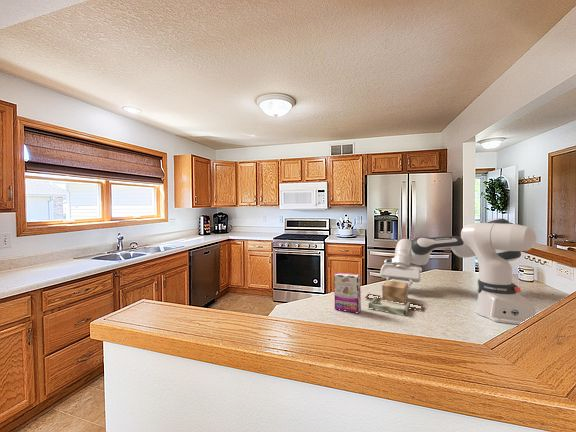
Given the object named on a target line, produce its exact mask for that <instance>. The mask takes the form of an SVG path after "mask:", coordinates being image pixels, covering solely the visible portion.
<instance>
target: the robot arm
mask: <svg viewBox="0 0 576 432" xmlns="http://www.w3.org/2000/svg"><path fill="white" fill-rule="evenodd" d="M536 243H537V235H536V232H535V231H534V230H533V229H532V228H531V227H530V226H527V225H522V224H518V223H513V222H510V221H509V220H508V219H505V218H494V219H490V220H489V221H487V222H471V223H467V224H466V225H464V226H463V228H462V229H461V231H460V236H458V235H451V236H450V235H449V236H448V235H447V236H445V235H444V236H435V237H428V236H418V237H415V238H414V239H413V240H410V239H409V238H401V239H399V240H398V242H397V243H396V245H395V249H394V256H393V257H392V258H387V259H384V260H383V262H384V263H383V265H382V266H381V268H380V271H379V275H380V277H381V279H386V281H387V280H388V281H390V280H393V281H394V280H395V281H405V282H407V289H410V288H411V287H410V286H412V284H413V283H419V282H421V274H422V272H423V268H422V267H421V266H426V265H427V264H428V263H429V261H430V258H431V253H432V251H434V250H438V249H448V248H449V249H451V251H452V252H453V254H454V255H455V256H457V257H459V258H463V259H464V258H472V257H476V260H477V263H478V276H479V277H478V280H477V285H476V286H477V293H478V294H477V299H476V304H475V306H474V309H473V311H474V312H475V313H476V314H477V315H480V316H482V317H483V318H487V319H489V320H490V321H493V322H495V323H503V324H512V325H519V324H520V323H521V322H523V321H525V320H526V319H528V318H530V317H532V316H534V315H535V314H537V311H536V308H535V306H534V304H533V303H532V302H531V301H530V300H528V299H526V298H525V297H524V296H523V295H521V294H520V293H521V291H522V288H521V287H519V286H518V285H517V284H516V283H514V282H513V281H512V278H513V275H512V274H513V271H512V270H513V266H512V264H511V263H510V262H513V261H515V260H517V259H519V258H521V256H522V252H525V251H526V252H527V251H529V250H531V249H533V248H534V246H535V245H536Z"/></svg>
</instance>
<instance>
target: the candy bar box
mask: <svg viewBox="0 0 576 432" xmlns="http://www.w3.org/2000/svg"><path fill="white" fill-rule="evenodd" d="M333 285H334V287H333V289H334V310H335V309H340V310H346V311H352V312H358V313H357V314H359V313H360V312H361V309H362V304H361V303H362V295H361V293H362V292H361V291H362V290H361V274H358V273H357V274H355V273H347V272H346V273H345V272H336V273H335V274H334V275H333ZM340 310H339V311H340ZM346 311H345V312H346ZM359 311H360V312H359ZM352 312H351V313H352Z"/></svg>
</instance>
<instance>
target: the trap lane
mask: <svg viewBox="0 0 576 432" xmlns="http://www.w3.org/2000/svg"><path fill="white" fill-rule="evenodd" d="M369 295H373V296H378V298H377V297H374V298H369V297H368V296H369ZM379 297H380V298H381V294H380V295H379V294H372V293H368V294H366V296H365V297H364V299H365V298H367V299H372V300H370V302H369V303H368V309H369V308H373V309H378V310H383V311H388V312H393V313H398V314H403V315H406V314H407V315H408V313H409V311H408V310H410V309H409V308H411V309H416V310H423V308H422V307H424V304H421V303H415V302H410V301H409V302H408V301H406V302H407V303H406V304H405V306H404V308H399V307H394V306H388V305H382V304H377V303H376V304H375V302H376V301H377V300H378V299H379ZM379 300H380V299H379ZM379 300H378V301H379ZM378 301H377V302H378ZM410 304H413V305H418V306H421V308H416V307H410ZM416 310H415V311H416ZM407 312H408V313H407ZM398 314H397V315H398ZM403 315H402V316H403ZM407 315H406V316H407Z"/></svg>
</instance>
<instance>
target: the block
mask: <svg viewBox="0 0 576 432" xmlns="http://www.w3.org/2000/svg"><path fill="white" fill-rule="evenodd" d="M407 284H408V282H402V281H397V280H395V281H394V280H389V281H388V280H387V279H386V281H385V282H384V283H383V284H382V288H381V289H382V297H381V298H382V300H387V301H393V302H399V303H406V302H407V300H408V288H407ZM406 299H407V300H406ZM405 301H406V302H405Z"/></svg>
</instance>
